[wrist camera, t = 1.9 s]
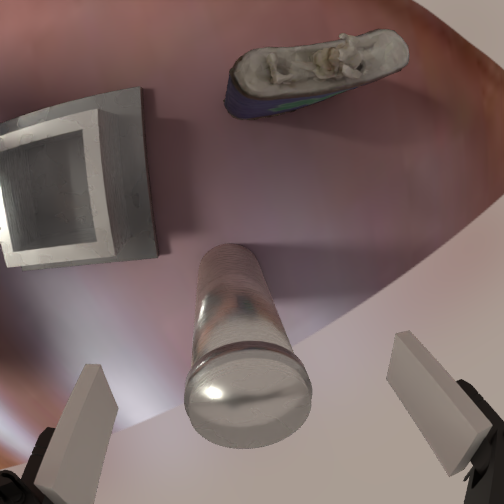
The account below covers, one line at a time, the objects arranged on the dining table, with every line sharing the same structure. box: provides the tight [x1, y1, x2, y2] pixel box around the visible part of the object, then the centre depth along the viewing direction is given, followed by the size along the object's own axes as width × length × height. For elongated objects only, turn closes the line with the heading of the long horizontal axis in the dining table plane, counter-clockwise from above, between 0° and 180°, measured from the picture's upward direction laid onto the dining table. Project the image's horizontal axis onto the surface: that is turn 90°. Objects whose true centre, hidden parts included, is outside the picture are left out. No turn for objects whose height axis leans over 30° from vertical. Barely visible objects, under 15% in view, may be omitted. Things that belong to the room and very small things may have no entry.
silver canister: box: [184, 244, 312, 449], centre depth 18 cm, size 5×5×14 cm
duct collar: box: [0, 87, 159, 271], centre depth 18 cm, size 12×12×5 cm
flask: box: [224, 29, 409, 120], centre depth 15 cm, size 9×3×11 cm, turn 109°
